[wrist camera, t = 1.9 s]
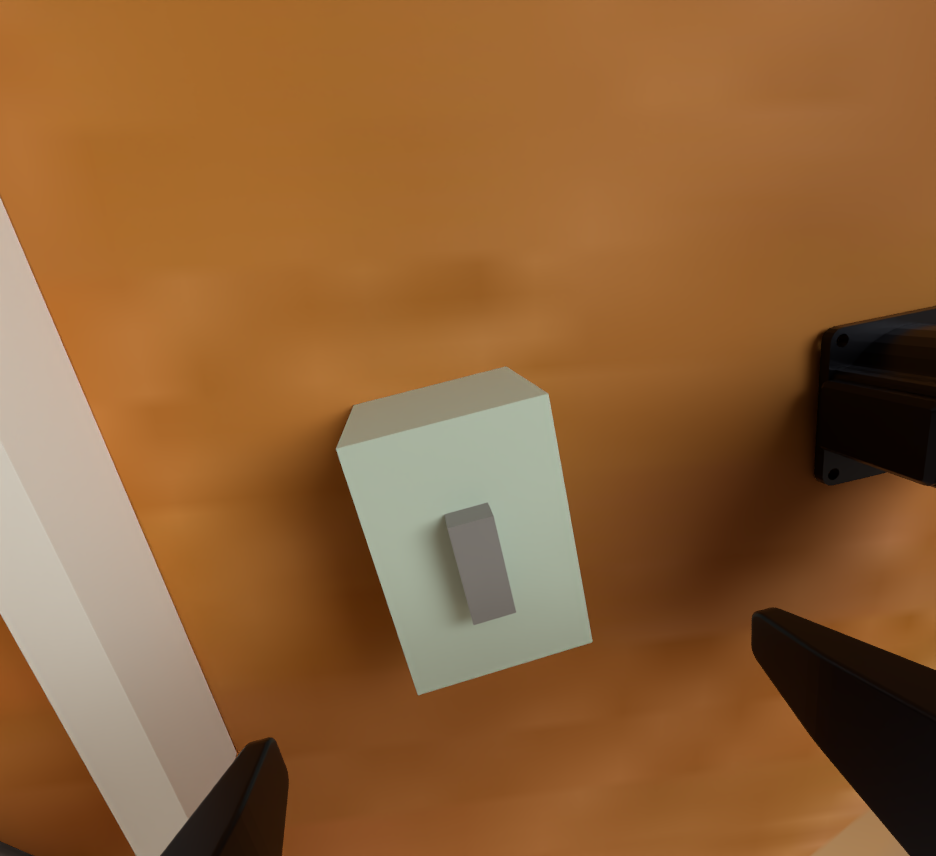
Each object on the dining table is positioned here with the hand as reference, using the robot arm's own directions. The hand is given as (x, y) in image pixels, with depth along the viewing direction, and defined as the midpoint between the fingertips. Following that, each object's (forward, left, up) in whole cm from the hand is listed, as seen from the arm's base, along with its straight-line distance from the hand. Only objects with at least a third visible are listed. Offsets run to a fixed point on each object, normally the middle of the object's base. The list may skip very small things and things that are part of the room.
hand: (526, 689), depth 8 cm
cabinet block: (0, 0, -10) cm, 10 cm away
